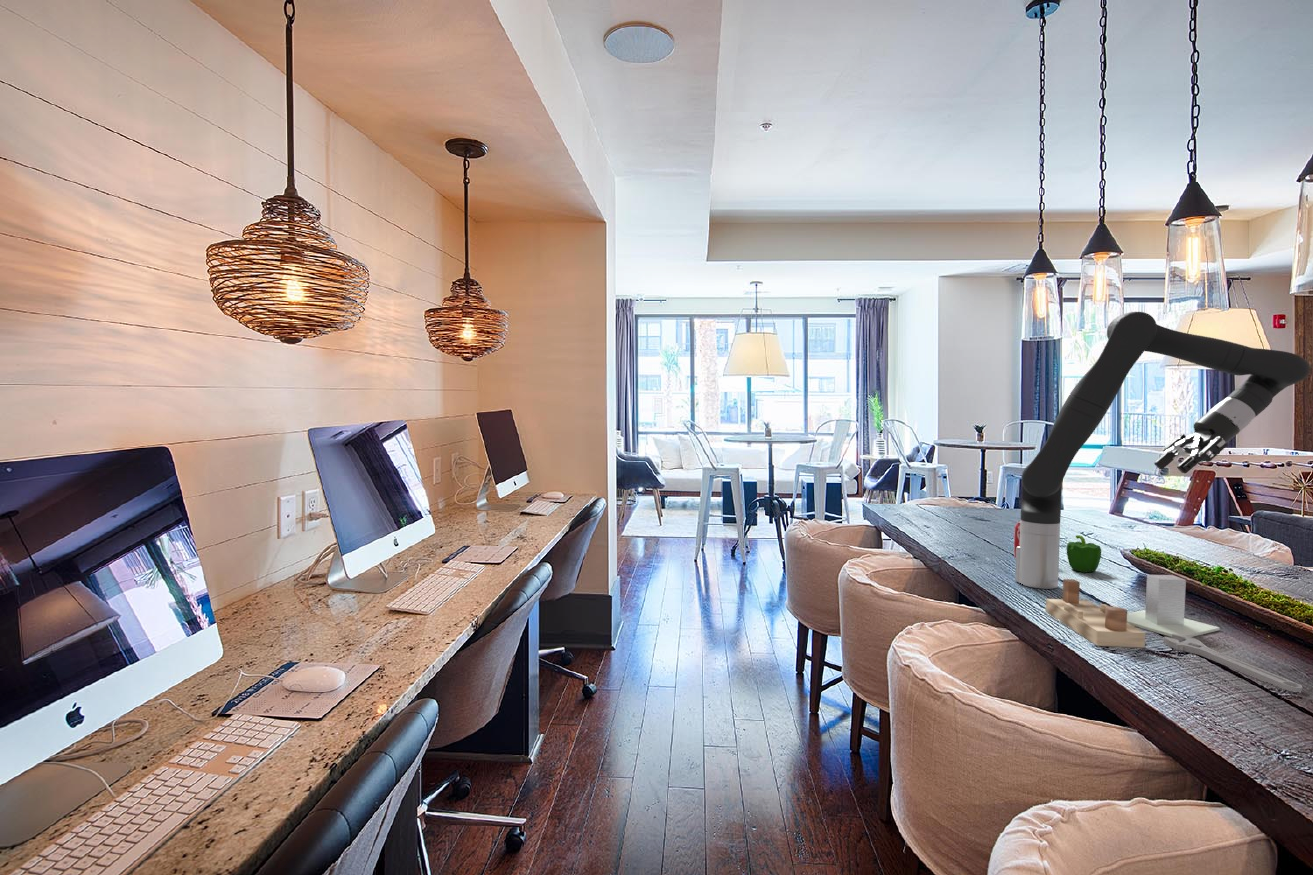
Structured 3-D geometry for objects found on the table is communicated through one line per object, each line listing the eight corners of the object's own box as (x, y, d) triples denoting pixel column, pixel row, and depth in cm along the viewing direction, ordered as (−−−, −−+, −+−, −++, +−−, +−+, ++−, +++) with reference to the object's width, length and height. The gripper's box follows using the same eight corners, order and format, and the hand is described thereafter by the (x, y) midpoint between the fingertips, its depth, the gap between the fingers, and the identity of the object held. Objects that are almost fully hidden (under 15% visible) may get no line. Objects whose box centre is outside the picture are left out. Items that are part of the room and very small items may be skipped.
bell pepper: (1105, 574, 189) (1106, 540, 188) (1073, 573, 191) (1074, 538, 190) (1092, 567, 197) (1093, 534, 197) (1061, 566, 199) (1063, 533, 198)
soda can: (1043, 563, 202) (1044, 524, 201) (1018, 562, 203) (1019, 523, 203) (1035, 558, 209) (1036, 520, 208) (1010, 557, 210) (1011, 519, 210)
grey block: (1145, 618, 149) (1147, 574, 149) (1171, 619, 149) (1173, 575, 148) (1156, 624, 145) (1159, 579, 145) (1183, 625, 145) (1185, 580, 144)
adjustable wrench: (1307, 696, 113) (1308, 686, 113) (1270, 696, 113) (1271, 686, 113) (1184, 641, 138) (1185, 633, 138) (1154, 642, 138) (1155, 633, 137)
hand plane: (1045, 611, 156) (1046, 577, 156) (1086, 612, 155) (1087, 578, 155) (1096, 645, 134) (1098, 606, 134) (1144, 647, 133) (1146, 608, 133)
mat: (1111, 619, 151) (1111, 616, 151) (1149, 611, 156) (1149, 608, 156) (1180, 639, 138) (1180, 636, 138) (1219, 630, 144) (1219, 627, 144)
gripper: (1192, 409, 164) (1139, 454, 166) (1235, 410, 150) (1177, 460, 152) (1214, 431, 164) (1161, 476, 166) (1259, 434, 150) (1200, 483, 152)
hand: (1168, 468), depth 159 cm, fingers open, 8 cm apart
